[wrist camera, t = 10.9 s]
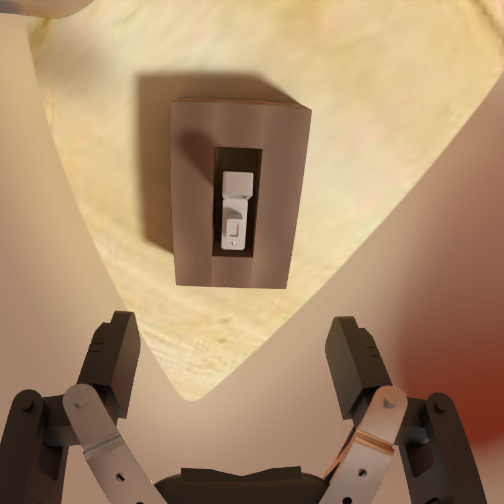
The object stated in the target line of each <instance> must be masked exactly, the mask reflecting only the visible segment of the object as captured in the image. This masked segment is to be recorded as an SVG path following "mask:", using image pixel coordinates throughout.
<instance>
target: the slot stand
mask: <svg viewBox="0 0 504 504" xmlns="http://www.w3.org/2000/svg"><path fill="white" fill-rule="evenodd" d="M311 113H312V110H311V109H309V108H307V107H305V106H303V105H301V104H296V103H287V102H276V101H264V100H250V99H232V98H179V99H177V100H175V101H173V102H171V108H170V173H171V208H172V230H173V248H174V264H175V277H176V285H180V286H203V287H231V288H266V289H286V286H287V280H288V274H289V268H290V262H291V256H292V250H293V244H294V237H295V231H296V224H297V218H298V211H299V204H300V197H301V190H302V183H303V176H304V168H305V161H306V153H307V146H308V138H309V130H310V122H311ZM217 147H239V148H257V149H258V151H257V164H256V176H255V188H254V200H253V213H252V225H251V233H246V234H245V248H244V249H243V250H232V249H223V248H222V232H215V194H216V164H217Z"/></svg>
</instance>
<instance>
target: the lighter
mask: <svg viewBox="0 0 504 504" xmlns="http://www.w3.org/2000/svg"><path fill="white" fill-rule="evenodd" d="M252 191H253V173H246V172H223V189H222V196H223V217H222V248H223V249H232V250H243V249H244V248H245V234H246V220H247V207H248V199H249V198H250V197H251V196H252Z"/></svg>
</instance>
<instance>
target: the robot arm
mask: <svg viewBox="0 0 504 504" xmlns="http://www.w3.org/2000/svg"><path fill="white" fill-rule="evenodd" d="M92 1H93V0H0V13H10V14H20V15H27V16H35V17H42V18H49V19H50V18H61V17H65V16H68V15H71V14H73V13H75V12H78V11H79V10H81V9H82V8H84V7H86V6H87V5H88V4H90V3H91V2H92ZM325 352H326V358H327V361H328V365H329V368H330V372H331V376H332V379H333V383H334V387H335V390H336V394H337V398H338V402H339V406H340V409H341V413H342V417H343V420H347V419H352V420H353V423H354V425H353V427H352V428H351V430H350V432H349V434H348V436H347V438H346V440H345V441H344V443H343V445H342V447H341V449H340V451H339V452H338V454H337V456H336V458H335V460H334V461H333V463H332V464H331V466H330V467H329V469H328V470H327V471H326V473H325V475H324V476H323V478H319V477H317V476H315V475H312V474H308V473H303V472H301V467H300V466H297V467H284V468H272V469H268V470H264V471H261V472H257V473H253V474H249V475H245V476H238V475H233V474H228V473H224V472H219V471H216V470H212V469H193V468H181V474H177V475H173V476H170V477H167V478H164V479H162V480H160V481H158V482H157V483H155V484H154V485H153V483H152V482H151V480H150V479H149V478H148V476H147V475H146V474H145V472H144V471H143V469H142V468H141V466H140V465H139V463H138V462H137V460H136V459H135V457H134V456H133V454H132V453H131V451H130V449H129V448H128V446H127V445H126V443H125V442H124V440H123V438H122V437H121V435H120V433H119V431H118V430H117V428H116V424H117V420H118V418H124V419H126V417H127V412H128V406H129V401H130V396H131V390H132V386H133V381H134V376H135V371H136V367H137V362H138V358H139V353H140V336H139V331H138V327H137V322H136V318H135V314H134V312H128V311H115V312H114V314H113V317H112V320H111V323H102V324H101V325H100V326H99V328H98V329H97V330H96V331H95V333H94V335H93V338H92V341H91V344H90V346H89V349H88V352H87V355H86V358H85V360H84V363H83V366H82V369H81V372H80V375H79V378H78V381H77V383H76V385H73V386H71V387H70V388H69V389H68V390H67V391H66V392H65V394H63V395H59V396H52V397H41V395H40V394H39V393H38V392H36V391H35V390H30V389H29V390H23V391H21V392H20V393H18V394H17V395H16V397H15V398H14V400H13V402H12V406H11V409H10V412H9V415H8V418H7V422H6V425H5V429H4V432H3V436H2V440H1V444H0V504H61V501H62V492H63V483H64V476H65V468H66V462H67V455H68V449H69V446H72V445H81V446H82V448H83V450H84V452H83V454H84V457H85V459H86V461H87V463H88V465H89V467H90V469H91V471H92V472H93V474H94V476H95V478H96V480H97V481H98V483H99V485H100V486H101V488H102V490H103V491H104V493H105V495H106V497H107V498H108V500H109V501H110V503H111V504H371V503H372V501H373V499H374V497H375V495H376V493H377V491H378V489H379V487H380V484H381V482H382V480H383V478H384V476H385V474H386V471H387V469H388V467H389V464H390V462H391V460H392V457H393V454H394V449H392V447H393V445H398V446H399V450H400V454H401V458H402V462H403V466H404V471H405V475H406V480H407V484H408V489H409V493H410V498H411V503H412V504H487V501H486V497H485V494H484V490H483V487H482V483H481V480H480V477H479V473H478V470H477V466H476V463H475V460H474V457H473V454H472V452H471V448H470V445H469V443H468V439H467V437H466V434H465V431H464V428H463V426H462V423H461V420H460V418H459V415H458V412H457V410H456V407H455V405H454V403H453V401H452V399H451V398H450V397H448V396H447V395H445V394H443V393H433V394H431V395H430V396H429V397H428V398H427V399H426V400H423V399H416V398H409V397H406V396H405V394H404V393H403V392H402V391H401V390H400V389H398V388H396V387H394V386H393V385H392V383H391V380H390V378H389V375H388V373H387V370H386V368H385V365H384V363H383V360H382V358H381V357H380V353H379V351H378V349H377V346H376V344H375V341H374V339H373V337H372V336H371V334H370V333H369V332H368V331H367V330H366V329H365V328H358V325H357V323H356V320H355V318H354V317H353V316H344V317H343V316H341V317H335V318H334V319H333V322H332V325H331V328H330V331H329V334H328V337H327V340H326V345H325Z"/></svg>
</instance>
